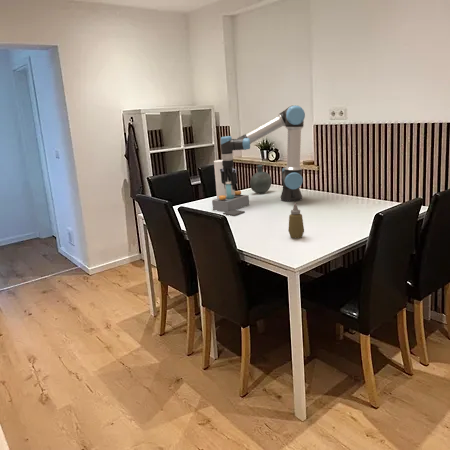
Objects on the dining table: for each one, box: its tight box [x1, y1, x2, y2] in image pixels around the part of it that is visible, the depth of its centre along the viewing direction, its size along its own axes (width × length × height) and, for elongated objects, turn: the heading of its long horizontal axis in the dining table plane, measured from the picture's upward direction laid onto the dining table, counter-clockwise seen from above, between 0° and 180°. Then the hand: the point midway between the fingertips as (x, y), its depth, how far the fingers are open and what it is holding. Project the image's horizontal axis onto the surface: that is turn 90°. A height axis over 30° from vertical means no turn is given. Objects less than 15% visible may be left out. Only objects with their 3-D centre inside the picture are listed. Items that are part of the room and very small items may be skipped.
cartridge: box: [225, 180, 234, 199], centre depth 301 cm, size 5×5×18 cm
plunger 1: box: [219, 195, 226, 201], centre depth 297 cm, size 5×5×9 cm
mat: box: [222, 209, 246, 217], centre depth 287 cm, size 10×10×1 cm
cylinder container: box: [213, 159, 229, 199], centre depth 326 cm, size 9×9×30 cm
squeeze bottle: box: [288, 202, 305, 240], centre depth 225 cm, size 8×8×18 cm
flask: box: [249, 164, 272, 194], centre depth 340 cm, size 12×17×22 cm
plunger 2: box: [235, 190, 242, 196], centre depth 308 cm, size 5×5×9 cm
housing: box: [211, 194, 250, 213], centre depth 303 cm, size 14×22×7 cm, turn 138°
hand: (230, 193), depth 301 cm, fingers closed on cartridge, 5 cm apart
